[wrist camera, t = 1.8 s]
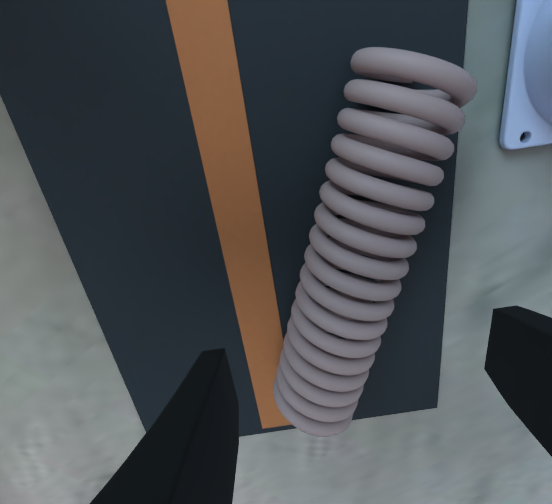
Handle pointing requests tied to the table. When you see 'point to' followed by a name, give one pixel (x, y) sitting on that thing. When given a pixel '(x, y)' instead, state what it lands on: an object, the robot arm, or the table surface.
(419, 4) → the mat
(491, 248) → the table surface
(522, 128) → the robot arm
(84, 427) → the table surface
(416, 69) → the coil
